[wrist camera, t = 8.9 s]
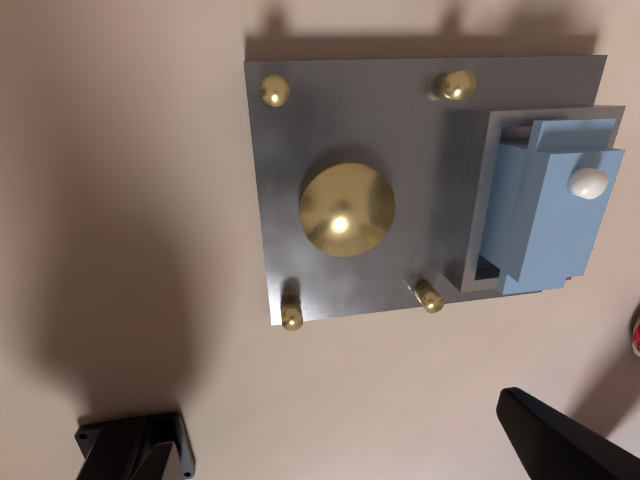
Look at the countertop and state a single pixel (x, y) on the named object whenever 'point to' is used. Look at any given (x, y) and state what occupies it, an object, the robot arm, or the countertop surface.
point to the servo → (548, 202)
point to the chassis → (393, 172)
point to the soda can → (636, 337)
